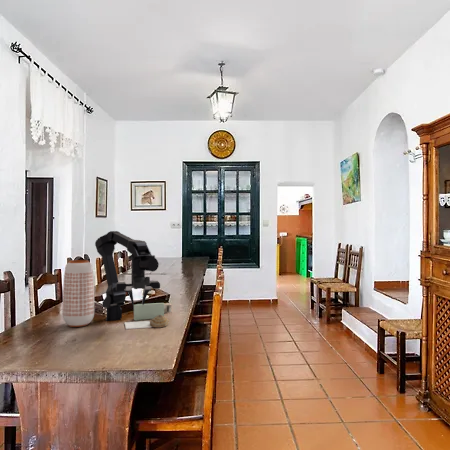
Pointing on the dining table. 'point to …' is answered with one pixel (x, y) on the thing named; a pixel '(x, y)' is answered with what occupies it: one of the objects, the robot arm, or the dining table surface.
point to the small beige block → (167, 307)
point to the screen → (148, 311)
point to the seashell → (159, 321)
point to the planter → (78, 293)
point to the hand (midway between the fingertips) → (137, 305)
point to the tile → (137, 325)
